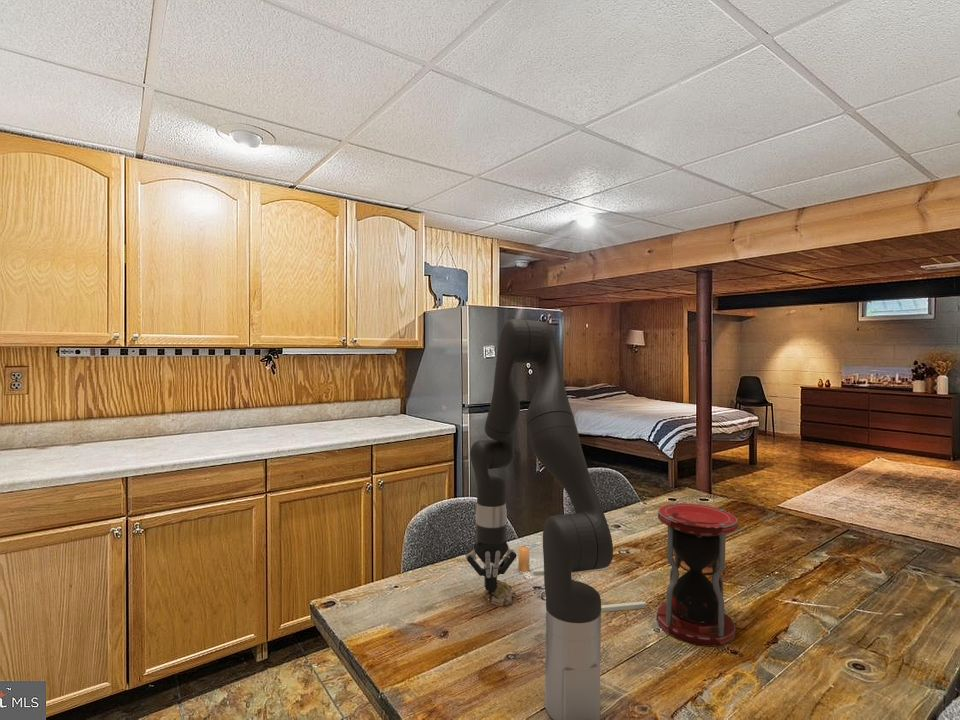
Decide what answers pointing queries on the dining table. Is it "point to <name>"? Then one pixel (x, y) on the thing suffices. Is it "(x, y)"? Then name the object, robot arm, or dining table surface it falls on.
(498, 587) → the mineral rock
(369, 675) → the dining table surface
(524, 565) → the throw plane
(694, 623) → the hourglass
